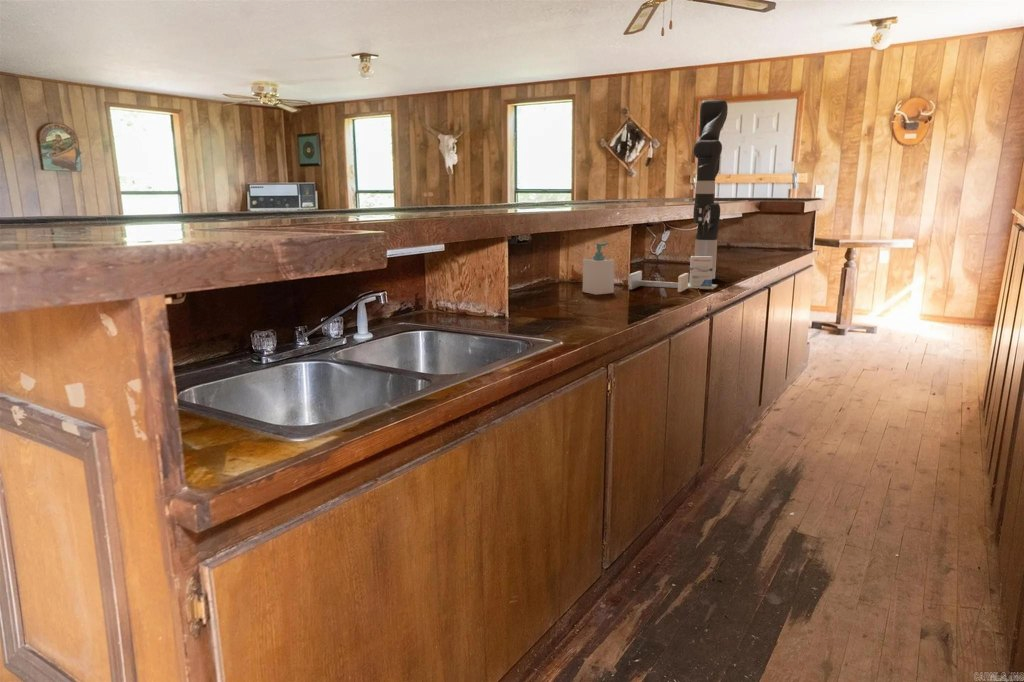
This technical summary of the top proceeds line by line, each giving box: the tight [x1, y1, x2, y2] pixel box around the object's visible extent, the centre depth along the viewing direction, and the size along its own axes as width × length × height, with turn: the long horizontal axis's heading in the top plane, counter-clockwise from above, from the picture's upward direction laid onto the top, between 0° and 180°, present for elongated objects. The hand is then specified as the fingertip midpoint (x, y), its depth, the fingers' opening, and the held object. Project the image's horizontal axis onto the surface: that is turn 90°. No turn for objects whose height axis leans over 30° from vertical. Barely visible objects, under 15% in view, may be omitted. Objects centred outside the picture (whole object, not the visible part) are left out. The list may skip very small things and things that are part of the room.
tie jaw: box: [677, 272, 690, 293], centre depth 268 cm, size 12×1×6 cm, turn 153°
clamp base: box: [628, 270, 678, 290], centre depth 274 cm, size 14×19×6 cm
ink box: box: [688, 255, 713, 286], centre depth 278 cm, size 8×5×12 cm, turn 80°
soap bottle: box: [582, 242, 615, 296], centre depth 263 cm, size 9×9×19 cm
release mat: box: [687, 282, 718, 290], centre depth 279 cm, size 10×12×1 cm
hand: (702, 233), depth 274 cm, fingers open, 8 cm apart
